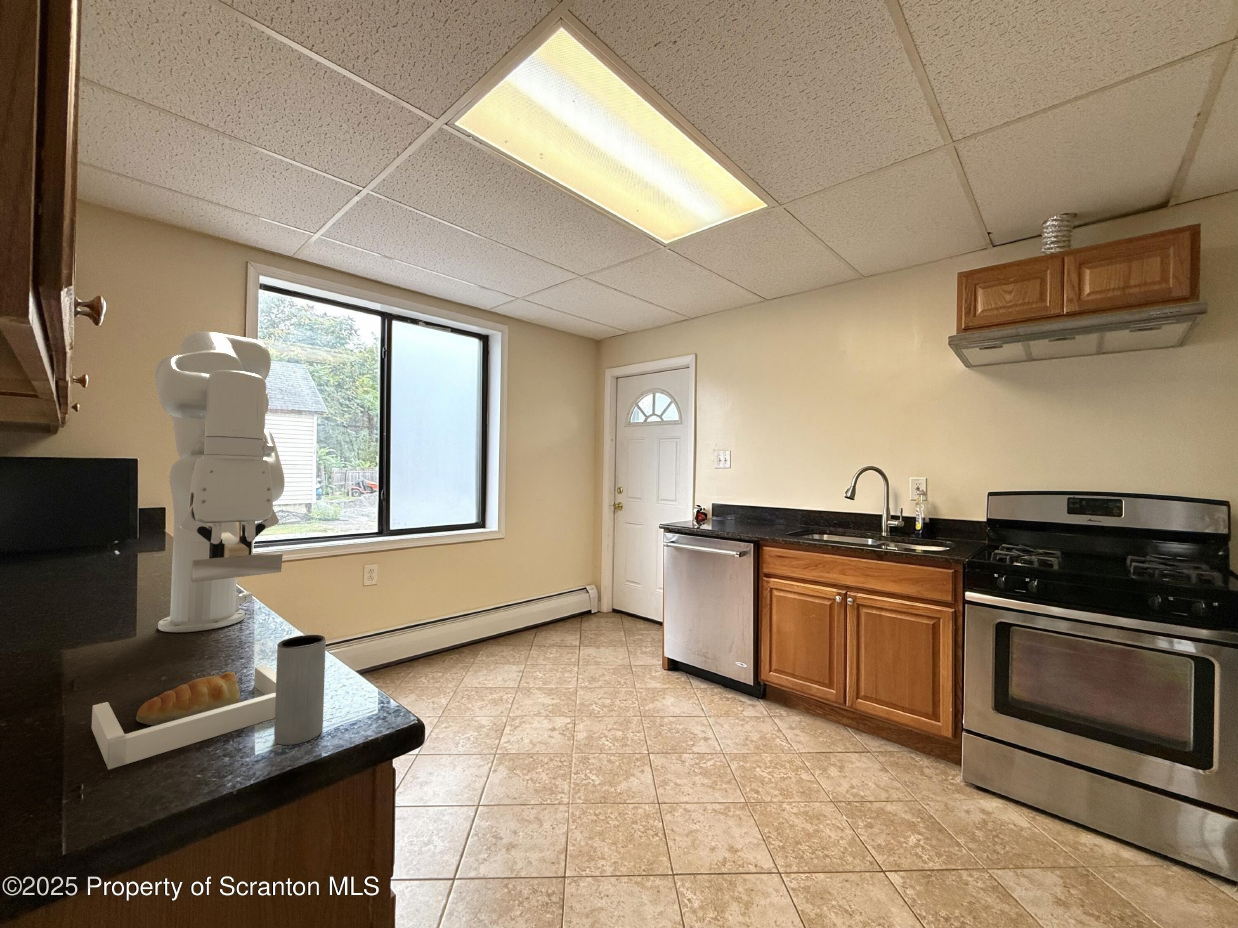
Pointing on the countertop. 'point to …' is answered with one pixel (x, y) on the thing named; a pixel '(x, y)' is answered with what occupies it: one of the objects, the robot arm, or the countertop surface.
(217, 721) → the frame
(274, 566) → the dough scraper
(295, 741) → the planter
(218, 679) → the pastry
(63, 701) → the countertop surface
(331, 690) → the countertop surface
